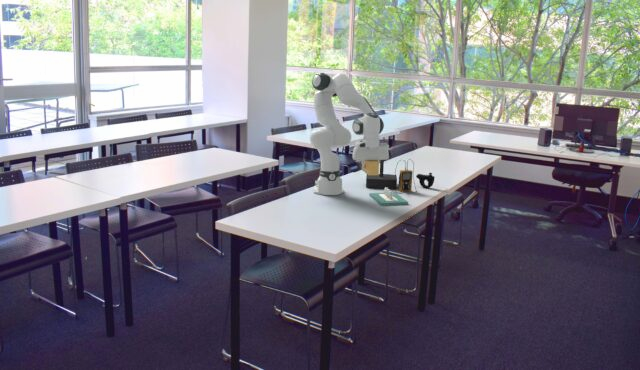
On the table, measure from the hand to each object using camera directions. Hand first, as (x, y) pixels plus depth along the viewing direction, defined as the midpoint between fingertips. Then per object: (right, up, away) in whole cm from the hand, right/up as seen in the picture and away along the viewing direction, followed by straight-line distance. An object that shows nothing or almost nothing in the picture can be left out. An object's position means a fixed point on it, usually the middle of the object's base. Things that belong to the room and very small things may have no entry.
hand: (370, 167), depth 318 cm
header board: (+12, -18, +14) cm, 26 cm away
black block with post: (+11, -10, +48) cm, 51 cm away
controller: (+39, -11, +45) cm, 61 cm away
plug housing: (0, -3, +1) cm, 3 cm away
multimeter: (+25, -15, +31) cm, 43 cm away
